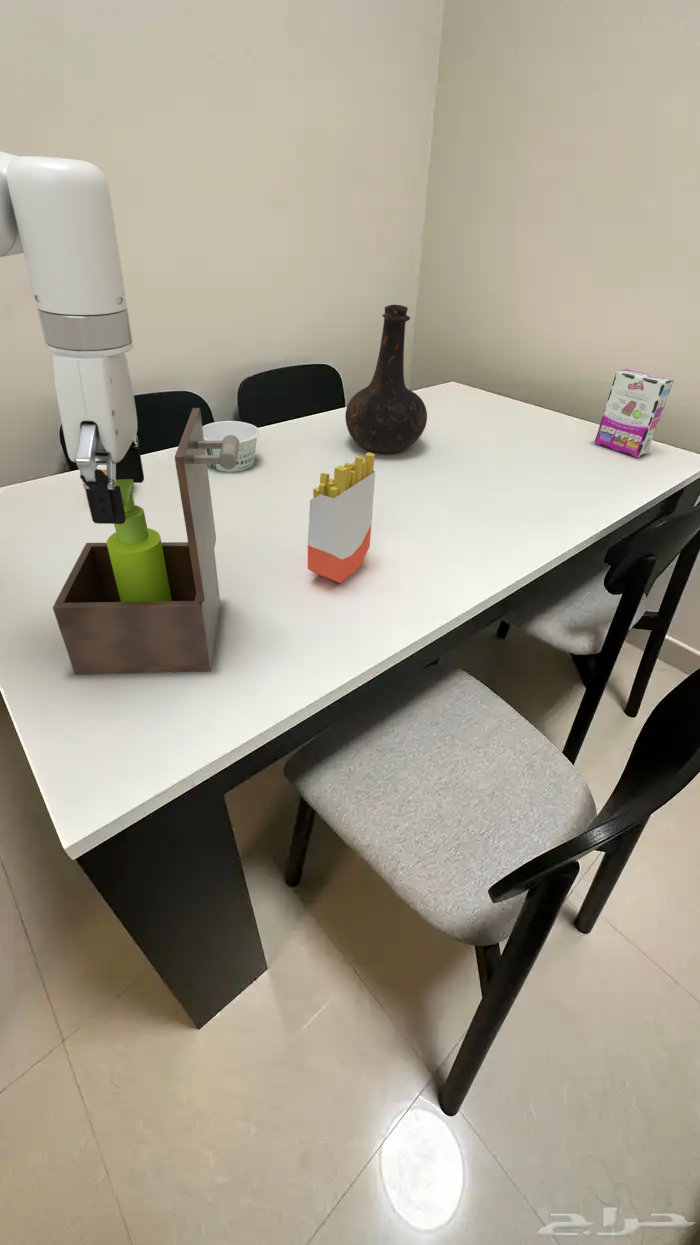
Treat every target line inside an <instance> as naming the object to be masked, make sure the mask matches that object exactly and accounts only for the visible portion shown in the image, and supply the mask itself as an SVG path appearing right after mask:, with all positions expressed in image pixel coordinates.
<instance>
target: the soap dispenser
mask: <svg viewBox="0 0 700 1245" xmlns="http://www.w3.org/2000/svg"><path fill="white" fill-rule="evenodd" d="M134 484H135V483H134V482H133V479H120V480H116V486H120V490H121V495H122V501H123V506H124V511H125V516H126V520H125V522H124V523H123V524H113V525H114V529H115V532H114V533H112V534H110V535H109V536H108V538H107V540H106V543H107V547H108V551H109V555H110V559H111V563H112V568H113V572H114V576H115V580H116V584H117V588H118V592H119V596H120V600H121V602H156V601H172V600H171V594H170V588H169V583H168V577H167V571H166V566H165V560H164V554H163V549H162V543H161V542H162V538H161V535H160V533H159V532H158V531H157V530H155V529H153V528H150V527H148V525H147V518H146V514H145V510H144V508H143V507H141V506H139V505H136V504H135V499H134V495H133V487H134Z"/></svg>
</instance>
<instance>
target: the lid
mask: <svg viewBox="0 0 700 1245" xmlns="http://www.w3.org/2000/svg"><path fill="white" fill-rule="evenodd" d="M201 413H202V412H201V408H200V407H192V409H191V412H190V414H189V418H188V420H187V423H186V425H185V427H184V431H183V433H182V436H181V439H180V442H179V443H178V446H177V449H176V452H175V454H174V463H175V468H176V474H177V481H178V488H179V494H180V500H181V506H182V513H183V520H184V526H185V531H186V538H187V542H188V545H189V551H190V557H191V563H192V570H193V576H194V582H195V589H196V595H197V601H198V602H205V598H206V592H207V587H208V581H209V576H210V570H211V565H212V559H213V554H214V552H215V548H216V542H217V534H216V526H215V516H214V510H213V500H212V495H211V486H210V480H209V479H210V478H209V469H208V465H209V464H220V466H221V467H223V468H224V469H232V468H234V467H235V466H236V463H237V457H238V451H239V440H238V438H237V437H235V436H233V435H227V436H225V437H224V439H223V441H204V437H203V428H202V427H203V422H202V414H201ZM205 449H221V451H220V455H206V453H205Z"/></svg>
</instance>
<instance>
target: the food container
mask: <svg viewBox="0 0 700 1245" xmlns="http://www.w3.org/2000/svg"><path fill="white" fill-rule="evenodd" d="M202 428H203V437H204V441H223V439H224V437H225V436H227V435H233V436H235V437H237V438H238V440H239V451H238V457H237V463H236V466H235V467H234V468H232V469H224V468H223V467H221V466H220V464H208V465H209V467H210V468H212V469H213V470H215V471H219V472H227V473H228V472H229V473H232V472H241V471H246V470H247V469H250V468H252V467H253V466H254V464H255V457H256V449H257V440H258V436H259V435H260V429H259V428H258V427H257V426H256V425H254V424H251V423H250V422H249V423H248V422H244V421H240V420H239V421H238V420H222V421H221V420H220V421H214V422H210V423H207V424H205V425H202ZM220 451H221V449H205V453H206V455H220Z"/></svg>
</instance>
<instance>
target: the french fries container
mask: <svg viewBox="0 0 700 1245" xmlns="http://www.w3.org/2000/svg"><path fill="white" fill-rule="evenodd" d="M375 457H376V454H375V453H372V452H370V451H368V452H366V453H365V454H364V457H363V456H361V455H357V456H355V459H354V461H353V462H351V463H350V462H346V463H344V465H343V466H342V465H337V466H336V467H334V473H333V478H332V477H330V473H326V472H321V473H320V478H319V479H320V480H319V485H318V486H316V487H315V488H313V489H312V494H313V495H312V496H313V498H311V499H310V500H309V511H308V512H309V513H308V514H309V516H308V532H307V536H308V537H307V569H308V570H309V571H311V572H312V573H314V574H317V575H318V576H321V577H323V578H326V579H328V580H331V581H333V582H335V583H338V584H343V582H345V581H346V580H347V579H348V578H349V577H351V576H352V575H353V574H354V573H355V572H357V571H358V570H359V569H360V568H361V566H362V564H363V562H364V559H365V558H366V555H367V553H368V551H369V549H370V546H371V534H372V522H373V510H374V509H373V508H374V496H375V495H374V493H375V483H376V482H375V481H376V471H375V470H374V468H375V467H374V466H375Z"/></svg>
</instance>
